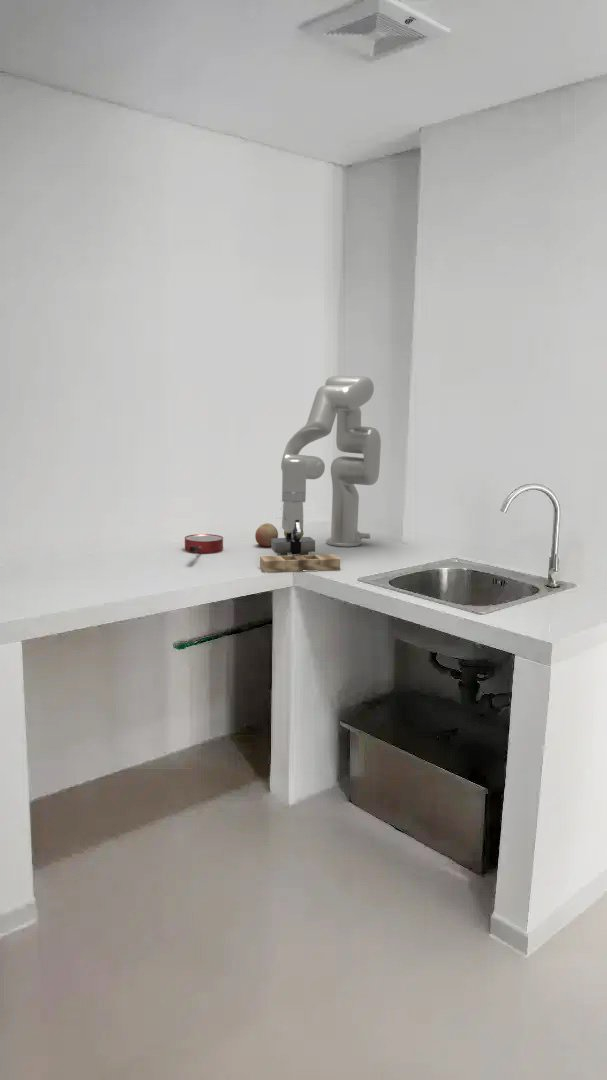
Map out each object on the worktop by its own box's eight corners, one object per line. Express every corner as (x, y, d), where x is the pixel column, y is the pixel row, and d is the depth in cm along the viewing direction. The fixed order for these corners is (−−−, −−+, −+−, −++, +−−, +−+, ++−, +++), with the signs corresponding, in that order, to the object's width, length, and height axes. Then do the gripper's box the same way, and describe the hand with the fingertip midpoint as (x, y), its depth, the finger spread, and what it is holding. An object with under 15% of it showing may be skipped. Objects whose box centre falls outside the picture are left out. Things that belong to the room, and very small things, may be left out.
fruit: (250, 545, 281) (251, 523, 280) (270, 543, 286) (270, 521, 284) (262, 549, 275) (262, 526, 273) (282, 547, 279) (282, 525, 278)
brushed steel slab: (309, 556, 262) (309, 536, 261) (314, 560, 256) (315, 540, 255) (271, 557, 259) (271, 538, 258) (275, 562, 253) (275, 542, 252)
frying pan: (221, 567, 247) (221, 547, 246) (178, 566, 246) (178, 546, 245) (223, 546, 278) (223, 528, 277) (186, 546, 277) (185, 528, 276)
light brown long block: (333, 564, 254) (333, 554, 253) (340, 570, 247) (340, 559, 246) (259, 567, 248) (260, 556, 247) (264, 572, 241) (264, 561, 240)
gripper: (276, 493, 261) (275, 546, 264) (288, 501, 244) (288, 558, 248) (298, 492, 263) (297, 545, 266) (312, 500, 246) (311, 557, 250)
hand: (293, 551), depth 257 cm, fingers closed on brushed steel slab, 6 cm apart
